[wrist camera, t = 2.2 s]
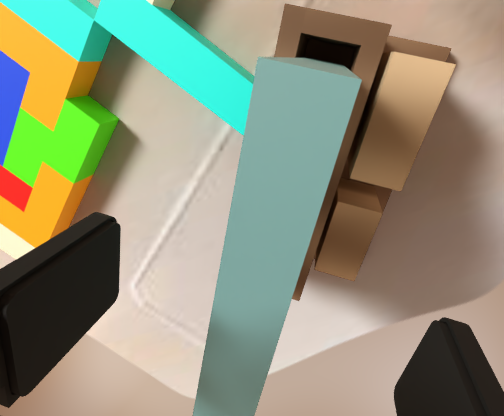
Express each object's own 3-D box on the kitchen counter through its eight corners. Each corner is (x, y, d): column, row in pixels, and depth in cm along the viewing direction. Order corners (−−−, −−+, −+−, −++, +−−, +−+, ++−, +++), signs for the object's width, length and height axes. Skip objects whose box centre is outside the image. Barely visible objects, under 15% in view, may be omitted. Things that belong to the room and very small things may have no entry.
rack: (298, 18, 21) (285, 3, 15) (446, 48, 20) (492, 44, 14) (251, 233, 28) (229, 279, 22) (357, 264, 27) (363, 320, 21)
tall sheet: (311, 57, 21) (258, 56, 6) (342, 64, 20) (362, 80, 6) (270, 222, 26) (191, 423, 12) (294, 230, 26) (245, 443, 11)
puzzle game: (-117, 133, 33) (127, 305, 36) (-156, 140, 31) (110, 325, 33) (-89, -263, 20) (304, 54, 22) (-155, -313, 17) (299, 54, 19)
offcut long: (378, 53, 20) (394, 51, 14) (422, 62, 19) (456, 64, 14) (346, 149, 22) (350, 178, 17) (385, 159, 22) (401, 191, 17)
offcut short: (337, 176, 23) (337, 201, 19) (374, 186, 23) (382, 213, 19) (317, 236, 25) (314, 269, 21) (351, 246, 25) (354, 281, 21)
